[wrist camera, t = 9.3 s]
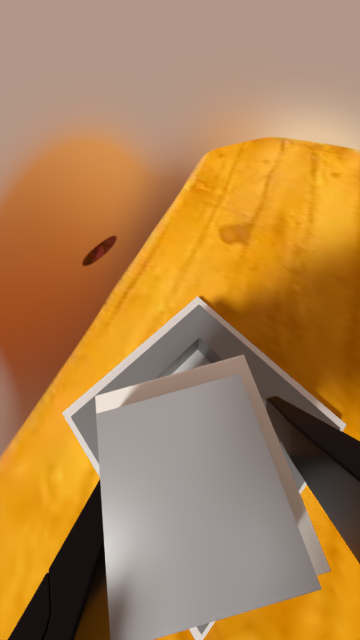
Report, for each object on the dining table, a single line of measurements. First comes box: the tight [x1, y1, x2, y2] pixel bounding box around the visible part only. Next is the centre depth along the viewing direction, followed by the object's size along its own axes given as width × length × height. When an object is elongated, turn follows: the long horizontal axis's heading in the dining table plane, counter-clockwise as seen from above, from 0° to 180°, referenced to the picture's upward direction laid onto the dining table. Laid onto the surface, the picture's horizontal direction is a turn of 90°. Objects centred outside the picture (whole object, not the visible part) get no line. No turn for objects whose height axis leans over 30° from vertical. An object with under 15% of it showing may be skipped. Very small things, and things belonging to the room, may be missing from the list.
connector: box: [95, 355, 331, 640], centre depth 9 cm, size 4×4×13 cm
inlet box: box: [62, 296, 346, 640], centre depth 14 cm, size 16×16×4 cm
